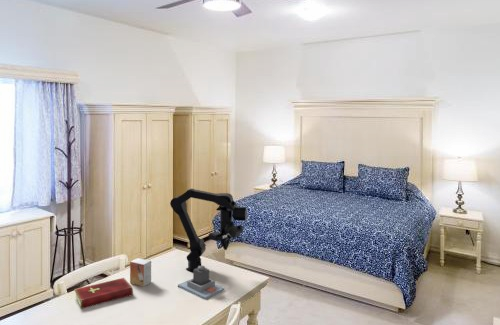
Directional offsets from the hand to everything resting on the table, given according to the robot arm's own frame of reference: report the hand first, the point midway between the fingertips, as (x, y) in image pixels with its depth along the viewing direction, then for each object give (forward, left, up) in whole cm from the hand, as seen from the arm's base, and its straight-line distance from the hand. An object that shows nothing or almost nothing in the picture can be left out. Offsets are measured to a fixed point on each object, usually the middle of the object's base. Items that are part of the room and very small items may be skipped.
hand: (225, 249), depth 186 cm
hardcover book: (-21, -53, -13) cm, 59 cm away
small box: (-21, -35, -12) cm, 43 cm away
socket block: (+4, -20, -12) cm, 24 cm away
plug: (+4, -20, -11) cm, 23 cm away
